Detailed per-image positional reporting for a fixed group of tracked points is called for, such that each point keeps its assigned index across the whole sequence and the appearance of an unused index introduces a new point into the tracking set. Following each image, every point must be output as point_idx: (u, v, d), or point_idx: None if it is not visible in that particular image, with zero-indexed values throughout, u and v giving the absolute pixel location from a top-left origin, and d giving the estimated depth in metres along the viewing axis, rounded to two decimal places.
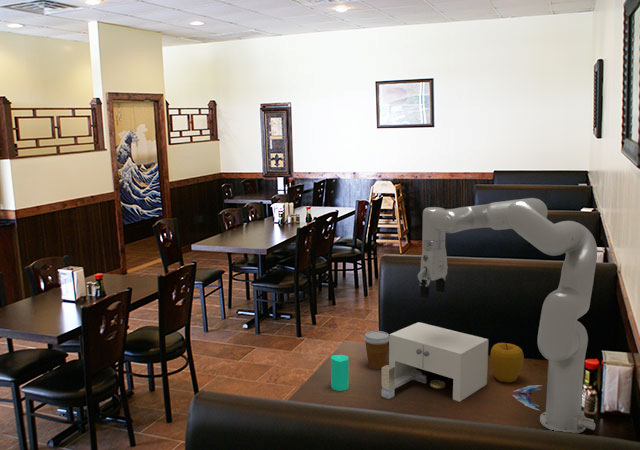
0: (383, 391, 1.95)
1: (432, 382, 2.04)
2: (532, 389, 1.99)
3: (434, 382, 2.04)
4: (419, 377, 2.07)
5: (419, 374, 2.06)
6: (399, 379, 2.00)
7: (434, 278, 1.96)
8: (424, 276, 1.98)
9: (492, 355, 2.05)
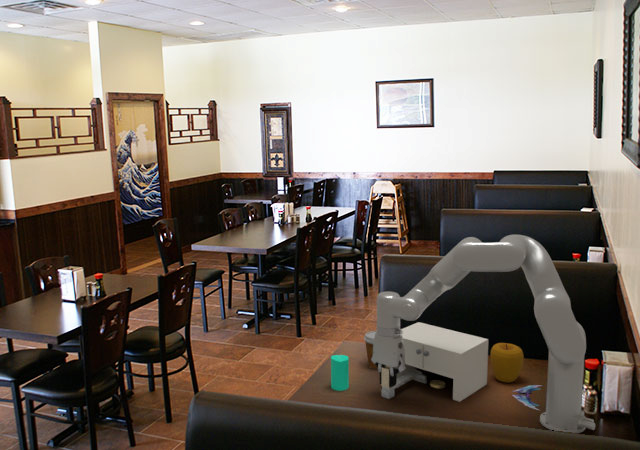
0: (383, 391, 1.95)
1: (432, 382, 2.04)
2: (532, 389, 1.99)
3: (434, 382, 2.04)
4: (419, 377, 2.07)
5: (419, 374, 2.06)
6: (398, 379, 2.00)
7: None
8: None
9: (492, 355, 2.05)
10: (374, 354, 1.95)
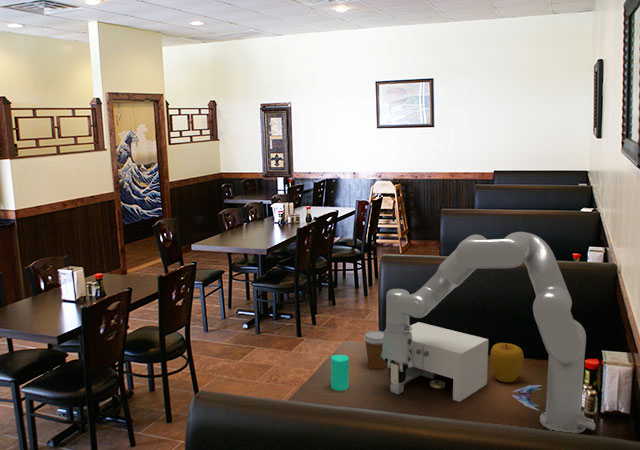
0: (392, 386, 1.98)
1: (432, 382, 2.04)
2: (532, 389, 1.99)
3: (434, 382, 2.04)
4: (427, 373, 2.10)
5: None
6: (407, 375, 2.03)
7: None
8: None
9: (492, 355, 2.05)
10: (384, 350, 1.98)
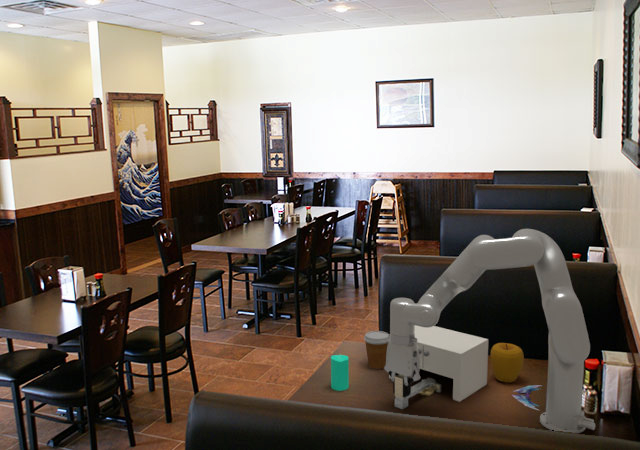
0: (396, 401, 1.88)
1: None
2: (532, 389, 1.99)
3: None
4: (433, 386, 1.99)
5: (433, 383, 1.98)
6: (412, 389, 1.93)
7: None
8: None
9: (492, 355, 2.05)
10: (387, 363, 1.88)
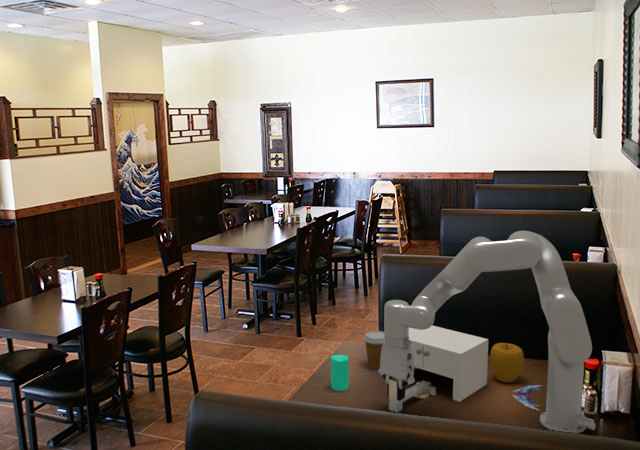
0: (391, 404, 1.85)
1: None
2: (532, 389, 1.99)
3: None
4: (428, 389, 1.97)
5: (428, 386, 1.96)
6: (407, 392, 1.91)
7: None
8: None
9: (492, 355, 2.05)
10: (381, 365, 1.85)
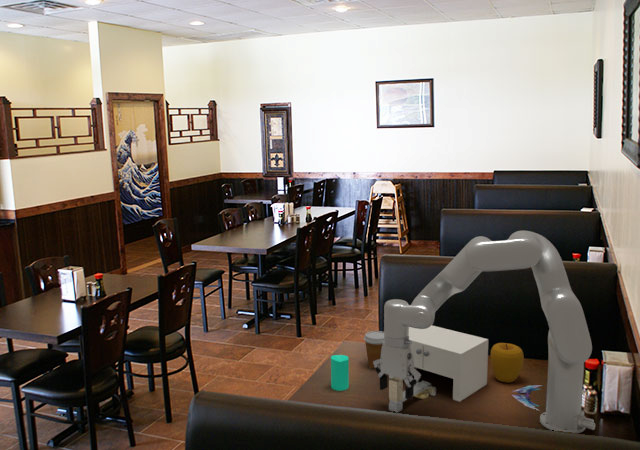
0: (390, 404, 1.85)
1: None
2: (532, 389, 1.99)
3: None
4: (428, 389, 1.97)
5: (428, 386, 1.96)
6: None
7: None
8: None
9: (492, 355, 2.06)
10: (381, 365, 1.85)
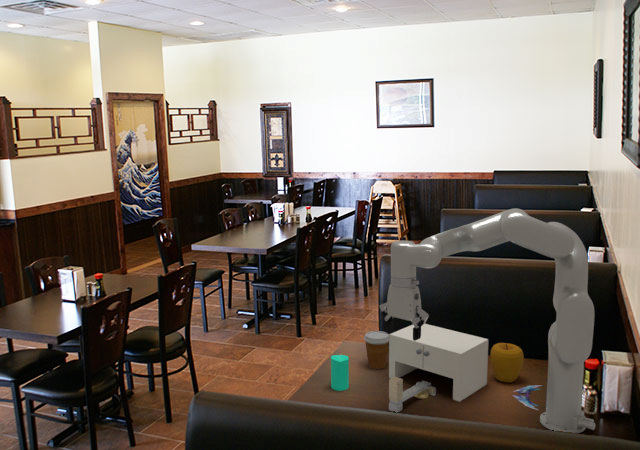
0: (390, 404, 1.85)
1: None
2: (532, 389, 1.99)
3: None
4: (428, 389, 1.97)
5: (428, 386, 1.96)
6: (407, 392, 1.91)
7: None
8: None
9: (492, 355, 2.06)
10: (388, 308, 1.83)
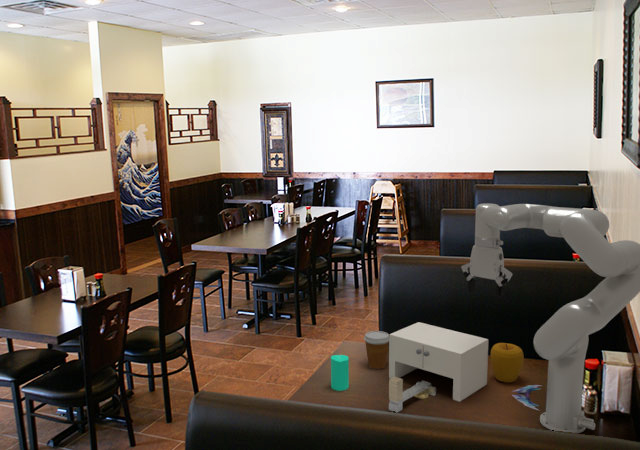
0: (390, 404, 1.85)
1: None
2: (532, 389, 1.99)
3: None
4: (428, 389, 1.97)
5: (428, 386, 1.96)
6: (407, 392, 1.91)
7: None
8: None
9: (492, 355, 2.05)
10: (471, 268, 1.92)
